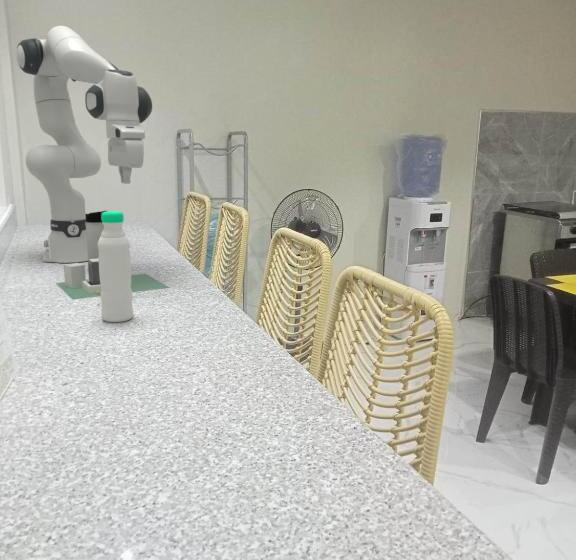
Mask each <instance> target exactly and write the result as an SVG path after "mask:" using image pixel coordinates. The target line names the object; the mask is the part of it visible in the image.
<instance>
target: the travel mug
mask: <svg viewBox="0 0 576 560" xmlns="http://www.w3.org/2000/svg"><path fill="white" fill-rule="evenodd" d="M106 211H107V210H103V211H95V212H94V211H93V212H89V213H85V215H86V234H87V250H88V260H89V259H97V258H99V249H98V241H99V238H100V237H101V233H102V231H103V229H104V225H103V224H102V223H103V222H102V220H101V214H102V213H103V212H106Z"/></svg>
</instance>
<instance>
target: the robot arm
mask: <svg viewBox="0 0 576 560" xmlns="http://www.w3.org/2000/svg"><path fill="white" fill-rule="evenodd" d="M45 37H46V38H45V39H43V38H42V39H41V38H39V39H38V38H27V39H22V40H21V41H19V43H18V45H17V46H16V60H17V63H18V66H19V68H20V69H21V70H22V71H23V73H26V74H29V75H33V94H34V95H33V96H34V104H35V109H36V114H37V118H38V122H39V127H40V129H41V130H42V132H44V133H45V134H47V135H49V136H50V137H52V138H53V140H54V141H55V143H56V144H43V145H38V146H34V147H31V148H30V149H28V152H27V154H26V157H25V165H26V168H27V170H28V171H29V174H31V175H32V176H33V177H34V178H35V179H37V180H38V181H40V183H41V184H42V185H43V187H44V189H45V190H46V193H47V196H48V200H49V206H50V214H51V219H50V224H49V226H50V230H51V231H50V233H49V235H48V237H47V239H45V240H44V241H43V248H46V249H45V251H43V253H42V262H46V263H59V264H63V263H64V264H72V263H80V262H88V250H87V234H86V215H85V214H86V204H85V203H86V202H85V199H86V198H85V197H84V195H83V194H82V192H80V191H79V190H76V189H74V188H73V186H72V184H71V182H70V179H81V178H87V177H92V176H94V175H97V174H98V172H100V169H101V166H102V165H101V164H102V160H101V156H100V154H99V152H98V151H97V149H95V148H94V147H92V146H91V145H90V144H89V143H88V142H87V141H86V140H85V139H84V137H83V136H82V134H81V133H80V130H79V128H78V126H77V124H76V120H75V116H74V112H73V108H72V103H71V102H72V101H71V97H70V93H69V89H68V82H69V81H68V80H71V81H72V82H74V83H75V82H76V81H77V82H81V83H82V82H84V83H88V84H92V85H91V86H90V87H89V88H88V90H86V92H85V100H84V101H85V108H86V111H87V112H88V114H89V115H90V116H91V117H92V118H94V119H97V120H100V121H105V131H106V138H107V139H108V143H107V160H108V164H109V166H114V167H117V168H118V172H119V176H120V182H121V184H125V185H127V184H129V185H130V184H131V177H132V172H133V171H132V170H133V169H134V168H135V169H138V168H142V167H143V164H144V153H145V151H144V147H145V146H144V140H145V139H146V138H145V137H146V135H145V133H146V132H145V130H144V129H143V128H142V127H141V125H140V124H142V123H144V122H145V121H146V120H147V119H148V118H149V117H150V115H151V113H152V111H153V101H152V98H151V97H150V94H149V93H148V91H147V90H146V89H145V88H144V87H142V86H138V83H137V79H136V75H135V74H134V73H133V72H131V71H127V70H122V69H119V68H118V67H117V66H115V65H114V64H113V63H111V62H110V61H108V60H107V59H105V58H104V57H103V56H101V55H100V54H99V53H97V51H95V50H94V49H93V48H91V47H90V46H89V44H87V42H86V41H85V40H84V39H83V38H82V36H81V35H79V34H78V33H77V32H76V31H74V30H73V29H72V28H70V27H68V26H65V25H56V26H53V27H51V29H50V30H48V32H47V35H46V36H45Z"/></svg>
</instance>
